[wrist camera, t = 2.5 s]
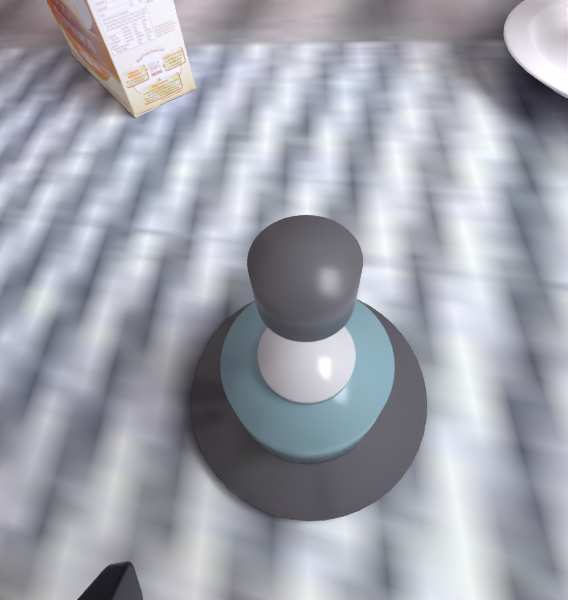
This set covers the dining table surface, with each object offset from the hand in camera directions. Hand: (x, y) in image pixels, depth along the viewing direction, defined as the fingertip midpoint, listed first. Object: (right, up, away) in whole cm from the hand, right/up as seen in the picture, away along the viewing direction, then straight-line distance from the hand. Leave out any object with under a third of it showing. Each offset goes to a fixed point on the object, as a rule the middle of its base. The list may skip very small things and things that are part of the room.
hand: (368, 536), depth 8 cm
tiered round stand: (0, -1, +15) cm, 15 cm away
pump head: (-1, +4, +7) cm, 8 cm away
